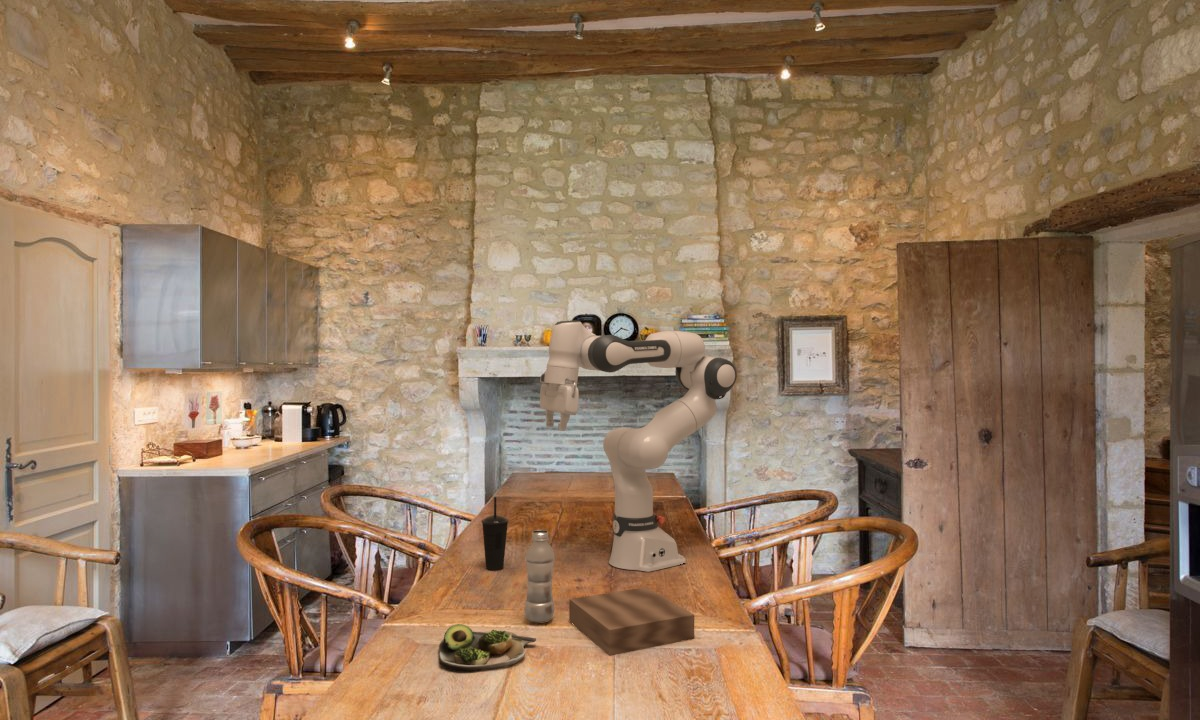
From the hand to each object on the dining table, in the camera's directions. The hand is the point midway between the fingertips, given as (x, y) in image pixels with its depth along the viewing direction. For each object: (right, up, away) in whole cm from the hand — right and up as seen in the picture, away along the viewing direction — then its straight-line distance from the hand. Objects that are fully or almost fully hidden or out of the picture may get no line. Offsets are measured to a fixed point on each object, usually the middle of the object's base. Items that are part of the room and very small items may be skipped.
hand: (555, 428), depth 189 cm
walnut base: (+19, -40, -39) cm, 59 cm away
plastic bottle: (-1, -40, -34) cm, 53 cm away
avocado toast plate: (-12, -40, -51) cm, 66 cm away
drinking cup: (-17, -40, +6) cm, 44 cm away
